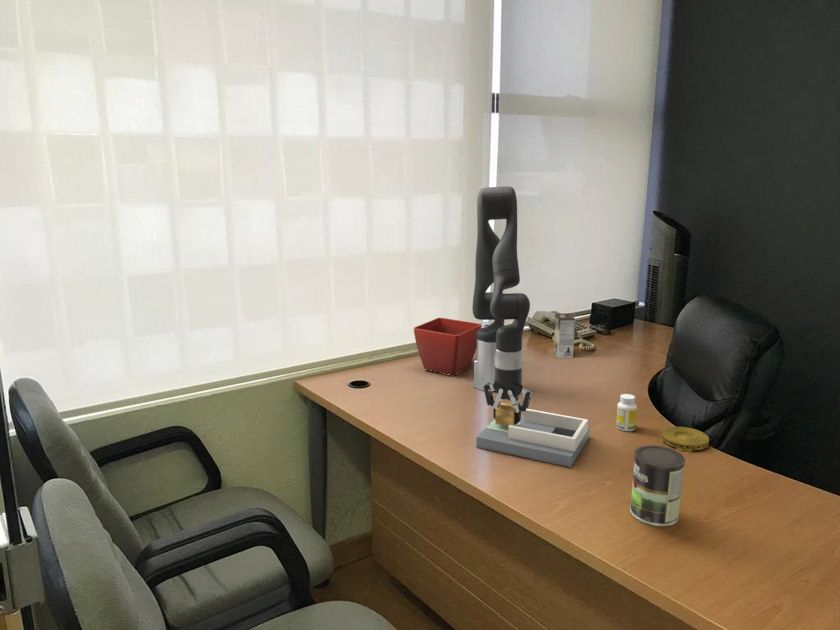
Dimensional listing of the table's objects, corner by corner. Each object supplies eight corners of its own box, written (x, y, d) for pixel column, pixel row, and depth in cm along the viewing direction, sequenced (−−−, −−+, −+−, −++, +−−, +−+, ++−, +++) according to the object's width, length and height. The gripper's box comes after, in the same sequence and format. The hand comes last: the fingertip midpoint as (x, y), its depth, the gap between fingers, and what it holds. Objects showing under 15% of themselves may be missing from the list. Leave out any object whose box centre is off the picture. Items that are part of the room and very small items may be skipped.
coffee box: (553, 351, 256) (554, 313, 252) (568, 351, 256) (570, 313, 252) (557, 358, 247) (559, 318, 243) (573, 358, 247) (575, 318, 243)
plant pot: (482, 366, 239) (482, 323, 235) (457, 381, 223) (458, 335, 219) (439, 358, 249) (438, 317, 245) (412, 372, 233) (412, 328, 229)
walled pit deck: (476, 447, 172) (476, 425, 170) (502, 420, 189) (502, 400, 188) (570, 467, 160) (572, 443, 159) (589, 437, 177) (590, 415, 176)
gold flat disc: (651, 438, 177) (652, 431, 176) (684, 430, 182) (684, 423, 181) (684, 456, 166) (685, 448, 166) (718, 447, 171) (719, 440, 170)
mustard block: (495, 423, 176) (495, 408, 175) (501, 417, 181) (501, 402, 180) (512, 427, 174) (512, 411, 173) (518, 420, 179) (518, 405, 177)
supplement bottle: (635, 425, 185) (638, 394, 182) (635, 432, 180) (637, 400, 177) (616, 423, 187) (618, 392, 184) (615, 430, 182) (617, 398, 179)
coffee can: (641, 528, 134) (646, 468, 130) (622, 502, 144) (626, 446, 140) (688, 525, 135) (694, 465, 131) (666, 500, 145) (671, 443, 141)
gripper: (479, 364, 173) (478, 422, 177) (529, 372, 167) (527, 431, 171) (489, 357, 180) (488, 412, 184) (537, 364, 173) (535, 421, 178)
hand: (507, 421), depth 177 cm, fingers closed on mustard block, 5 cm apart
